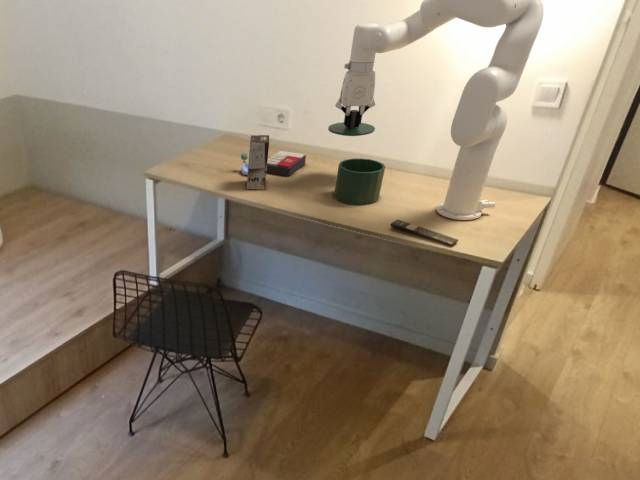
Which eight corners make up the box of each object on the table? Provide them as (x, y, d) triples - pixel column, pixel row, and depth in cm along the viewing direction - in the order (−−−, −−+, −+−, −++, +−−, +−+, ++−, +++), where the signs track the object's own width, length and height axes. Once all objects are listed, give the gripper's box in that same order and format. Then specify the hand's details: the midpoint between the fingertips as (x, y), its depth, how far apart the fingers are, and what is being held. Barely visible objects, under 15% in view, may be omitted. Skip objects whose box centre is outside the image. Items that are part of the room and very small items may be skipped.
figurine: (238, 170, 233) (239, 152, 229) (255, 168, 233) (257, 150, 229) (243, 177, 227) (244, 158, 222) (261, 175, 227) (263, 157, 223)
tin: (372, 188, 212) (378, 157, 205) (383, 204, 201) (390, 172, 194) (330, 189, 213) (335, 159, 207) (338, 205, 202) (344, 173, 195)
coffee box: (264, 190, 215) (269, 142, 206) (246, 189, 217) (249, 142, 207) (265, 180, 222) (269, 134, 213) (247, 180, 224) (251, 134, 214)
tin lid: (368, 124, 216) (371, 104, 212) (379, 136, 204) (383, 115, 200) (324, 126, 218) (326, 106, 214) (332, 138, 205) (335, 117, 201)
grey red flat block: (262, 162, 228) (279, 148, 237) (261, 173, 230) (278, 160, 239) (289, 166, 222) (306, 153, 231) (288, 178, 225) (305, 164, 234)
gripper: (337, 70, 197) (329, 130, 208) (390, 68, 195) (379, 128, 206) (333, 66, 203) (325, 124, 214) (383, 63, 201) (373, 123, 212)
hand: (351, 126), depth 210 cm, fingers closed on tin lid, 2 cm apart
